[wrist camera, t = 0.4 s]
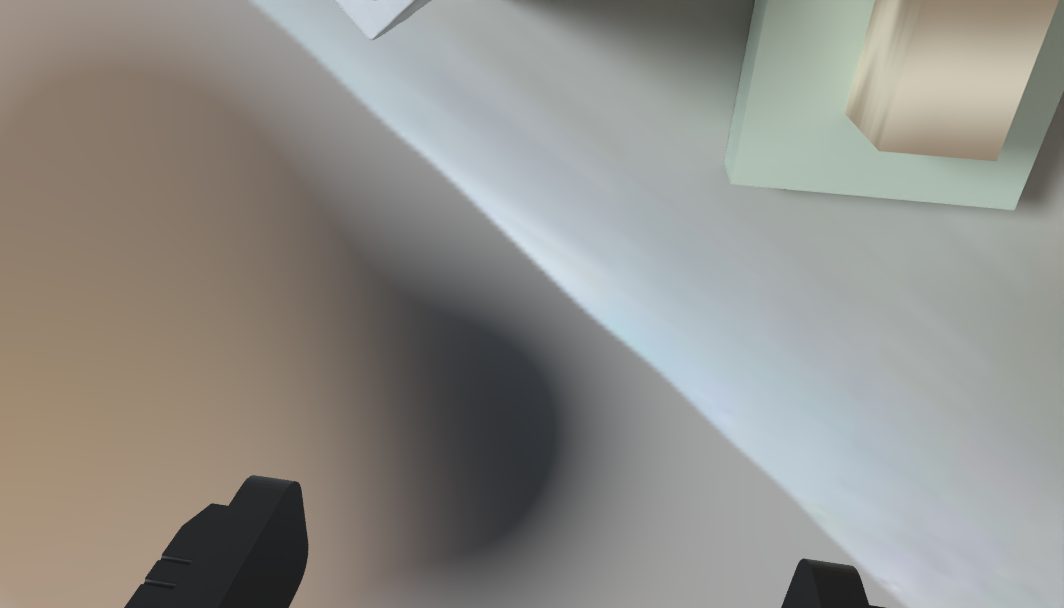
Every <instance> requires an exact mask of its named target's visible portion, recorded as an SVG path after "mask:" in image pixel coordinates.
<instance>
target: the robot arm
mask: <svg viewBox="0 0 1064 608" xmlns="http://www.w3.org/2000/svg"><path fill="white" fill-rule="evenodd" d="M307 558H308V538H307V530H306V522H305V514H304V507H303V498H302V491H301V487H300V484H299V483H298V482H296V481H289V480H281V479H276V478H269V477H262V476H254V475H253V476H250V477H249V478H247V479H246V481H245V482H244V483H243V485H242V486H241V487H240V489H239V490H238V492H237V494H236V495H235V497H234V498H233V500H232V501H231V503H230V504H229V506H226V505H219V504H210V505H209V506H208V507H206V508H205V509H204V510H203V511H201V512H200V513H199V514H197V515H196V516H195V517H193V518H192V519H191V520H190V521H188V522H187V523H185V524H184V525H183V526H182V527H181V529H180V530H179V531H178V532H177V534H176V535H175V537H174V538H173V540H172V541H171V542H170V544H169V545H168V547H167V548H166V549H165V551H164V552H163V554H162V558H161V560H158V561H157V562H156V564H155V565H154V566H153V568H152V569H151V571H150V572H149V573H148V575H147V576H146V578H145V583H144V584H141V585H140V586H139V588H138V589H137V590H136V592H135V593H134V595H133V596H132V597H131V599H130V600H129V602H128V603H127V604H126V606H125V607H124V608H289V606H290V604H291V602H292V600H293V598H294V596H295V594H296V592H297V590H298V587H299V585H300V583H301V580H302V578H303V575H304V572H305V568H306V563H307ZM781 608H884V607H878V606H871V605H869V603H868V600H867V597H866V594H865V590H864V587H863V584H862V581H861V578H860V575H859V573H858V571H857V570H856V568H854V567H853V566H850V565H844V564H837V563H830V562H823V561H817V560H810V559H802V560H800V562H799V563H798V565H797V568H796V570H795V573H794V576H793V578H792V581H791V583H790V586H789V589H788V591H787V594H786V597H785V599H784V602H783V605H782V607H781Z"/></svg>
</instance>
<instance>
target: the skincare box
mask: <svg viewBox="0 0 1064 608" xmlns="http://www.w3.org/2000/svg"><path fill="white" fill-rule="evenodd" d="M335 1H336V2H337V4H338V5H339V6H340V7H341V8H342V9H343V10H344V11H345V13H346V14H347V15H348V16H349V17H350V18H351V19H352V21H353V22H354V23H355V24H356V25H357V26H358V27H359V29H360V30H361V31H362V32H363V33H364V34H365V36H366V37H367V38H368V39H369V40H374V39H376V38H378V37H380V36H382V35H383V34H385V33H386V32H388V31H389V30H391V29H392V28H393V27H395V26H396V25H398V24H399V23H401V22H403V21H405V20H406V19H407V18H409V17H410V16H411V15H412V14H413V13H415V12H416V11H417V10H419V9H420V8H422V7H423V6H424V5H426V4H427V3H428V2H430V1H431V0H335Z"/></svg>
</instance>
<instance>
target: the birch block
mask: <svg viewBox="0 0 1064 608" xmlns="http://www.w3.org/2000/svg"><path fill="white" fill-rule="evenodd" d="M1058 2H1059V0H875V2H874V6H873V10H872V13H871V17H870V21H869V25H868V28H867V32H866V36H865V39H864V43H863V47H862V51H861V54H860V58H859V62H858V66H857V69H856V73H855V77H854V80H853V84H852V88H851V92H850V95H849V99H848V103H847V106H846V110H845V114H846V115H847V116H848V118H849V119H850V120H851V121H852V122H853V123H854V124H855V125H856V126H857V128H858V129H859V130H860V131H861V132H862V133H863V134H864V135H865V136H866V137H867V139H868V140H869V141H870V142H871V143H872V144H873V145H874V146H875V147H876V149H877V150H878V151H883V152H894V153H906V154H917V155H929V156H940V157H952V158H963V159H975V160H986V161H997V159H998V156H999V154H1000V151H1001V149H1002V146H1003V143H1004V141H1005V138H1006V136H1007V133H1008V131H1009V128H1010V125H1011V123H1012V120H1013V118H1014V115H1015V113H1016V110H1017V107H1018V105H1019V102H1020V100H1021V97H1022V94H1023V92H1024V89H1025V87H1026V84H1027V82H1028V79H1029V76H1030V74H1031V71H1032V69H1033V66H1034V64H1035V61H1036V58H1037V56H1038V53H1039V51H1040V48H1041V46H1042V43H1043V40H1044V38H1045V35H1046V33H1047V30H1048V27H1049V25H1050V22H1051V20H1052V17H1053V15H1054V12H1055V9H1056V7H1057V4H1058Z"/></svg>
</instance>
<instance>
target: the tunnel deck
mask: <svg viewBox="0 0 1064 608" xmlns="http://www.w3.org/2000/svg"><path fill="white" fill-rule="evenodd" d="M874 2H875V0H755V3H754V8H753V14H752V19H751V24H750V29H749V34H748V40H747V45H746V50H745V55H744V61H743V66H742V71H741V76H740V82H739V87H738V92H737V97H736V103H735V108H734V113H733V118H732V123H731V129H730V134H729V139H728V144H727V150H726V155H725V160H724V163H725V166H726V170H727V173H728V176H729V180H730V183H731V184H735V185H746V186H757V187H768V188H778V189H789V190H800V191H811V192H822V193H833V194H844V195H854V196H865V197H876V198H887V199H898V200H909V201H920V202H931V203H941V204H952V205H963V206H974V207H985V208H996V209H1007V210H1015V207H1016V205H1017V203H1018V200H1019V198H1020V195H1021V193H1022V190H1023V188H1024V186H1025V183H1026V181H1027V178H1028V176H1029V174H1030V171H1031V169H1032V166H1033V164H1034V162H1035V159H1036V157H1037V154H1038V152H1039V150H1040V147H1041V145H1042V142H1043V140H1044V138H1045V135H1046V133H1047V130H1048V128H1049V125H1050V123H1051V121H1052V118H1053V116H1054V113H1055V111H1056V109H1057V106H1058V104H1059V101H1060V99H1061V97H1062V94H1063V92H1064V0H1059V2H1058V4H1057V7H1056V9H1055V12H1054V15H1053V17H1052V20H1051V22H1050V25H1049V27H1048V30H1047V33H1046V35H1045V38H1044V40H1043V43H1042V46H1041V48H1040V51H1039V53H1038V56H1037V58H1036V61H1035V64H1034V66H1033V69H1032V71H1031V74H1030V76H1029V79H1028V82H1027V84H1026V87H1025V89H1024V92H1023V94H1022V97H1021V100H1020V102H1019V105H1018V107H1017V110H1016V113H1015V115H1014V118H1013V120H1012V123H1011V125H1010V128H1009V131H1008V133H1007V136H1006V138H1005V141H1004V143H1003V146H1002V149H1001V151H1000V154H999V156H998V159H997V161H986V160H975V159H963V158H952V157H940V156H929V155H917V154H906V153H894V152H883V151H878V150H877V149H876V147H875V146H874V145H873V144H872V143H871V142H870V141H869V140H868V139H867V137H866V136H865V135H864V134H863V133H862V132H861V131H860V130H859V129H858V128H857V126H856V125H855V124H854V123H853V122H852V121H851V120H850V119H849V118H848V116H847V115H846V114H845V110H846V106H847V103H848V99H849V95H850V92H851V88H852V84H853V80H854V77H855V73H856V69H857V66H858V62H859V58H860V54H861V51H862V47H863V43H864V39H865V36H866V32H867V28H868V25H869V21H870V17H871V13H872V10H873V6H874Z"/></svg>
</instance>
